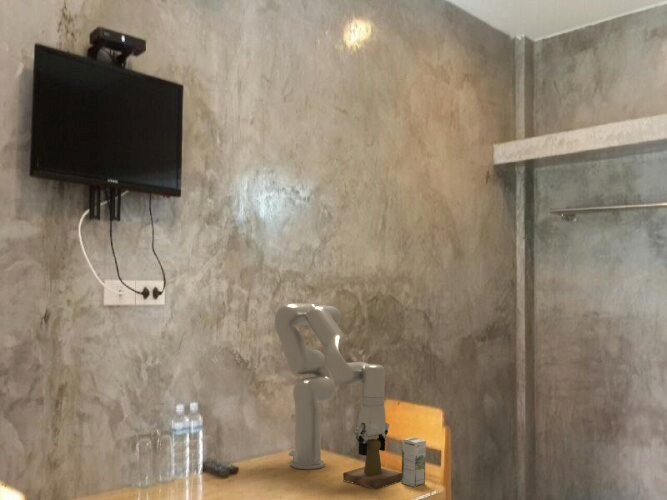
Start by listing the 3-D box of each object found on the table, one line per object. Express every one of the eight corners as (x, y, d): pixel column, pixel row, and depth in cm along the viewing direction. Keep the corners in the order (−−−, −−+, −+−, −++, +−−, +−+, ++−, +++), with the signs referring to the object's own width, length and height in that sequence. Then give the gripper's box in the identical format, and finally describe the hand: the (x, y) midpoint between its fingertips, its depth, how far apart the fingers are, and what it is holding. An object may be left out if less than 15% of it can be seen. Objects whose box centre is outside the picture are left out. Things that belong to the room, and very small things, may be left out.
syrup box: (411, 480, 213) (412, 436, 215) (425, 484, 209) (426, 439, 210) (401, 483, 209) (401, 439, 211) (415, 487, 205) (415, 442, 206)
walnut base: (343, 480, 212) (343, 472, 212) (369, 472, 222) (369, 465, 222) (375, 489, 202) (375, 481, 203) (401, 480, 213) (401, 473, 213)
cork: (380, 475, 209) (380, 441, 210) (362, 474, 211) (363, 440, 211) (383, 470, 215) (383, 438, 216) (365, 469, 216) (365, 437, 217)
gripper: (380, 397, 223) (379, 446, 222) (348, 402, 211) (346, 454, 209) (397, 400, 218) (396, 450, 217) (365, 405, 206) (364, 459, 204)
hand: (371, 452), depth 213 cm, fingers open, 9 cm apart
